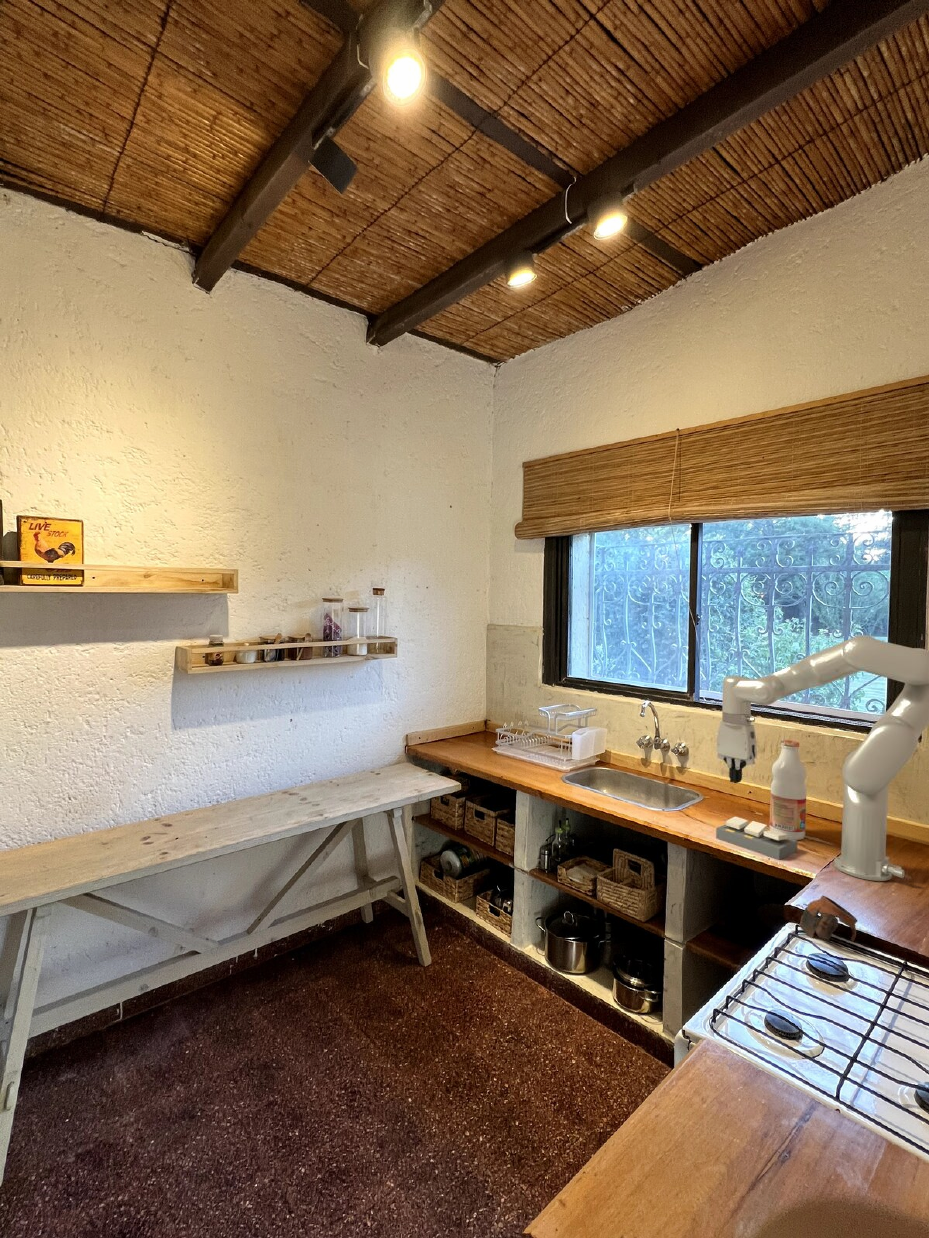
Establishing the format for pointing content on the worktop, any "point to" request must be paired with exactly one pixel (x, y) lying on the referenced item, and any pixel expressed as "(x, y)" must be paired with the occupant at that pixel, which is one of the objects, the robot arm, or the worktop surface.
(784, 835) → the block
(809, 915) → the pottery mug
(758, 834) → the rocker
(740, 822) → the rocker
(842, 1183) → the worktop surface
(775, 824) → the fruit juice
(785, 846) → the switch panel
